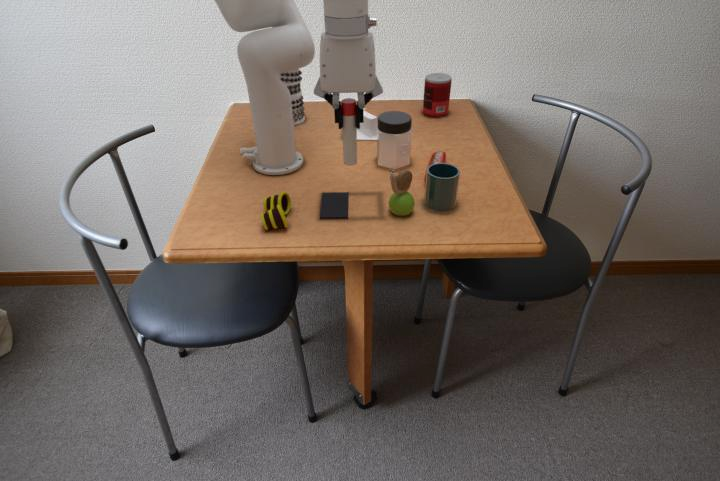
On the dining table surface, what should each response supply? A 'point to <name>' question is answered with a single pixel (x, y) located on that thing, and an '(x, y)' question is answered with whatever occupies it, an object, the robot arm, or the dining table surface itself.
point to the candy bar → (437, 159)
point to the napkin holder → (368, 127)
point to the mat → (334, 205)
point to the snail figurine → (401, 193)
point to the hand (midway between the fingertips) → (349, 125)
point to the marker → (349, 131)
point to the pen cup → (441, 186)
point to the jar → (394, 139)
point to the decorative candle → (294, 94)
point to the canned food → (436, 94)
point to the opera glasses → (276, 210)
